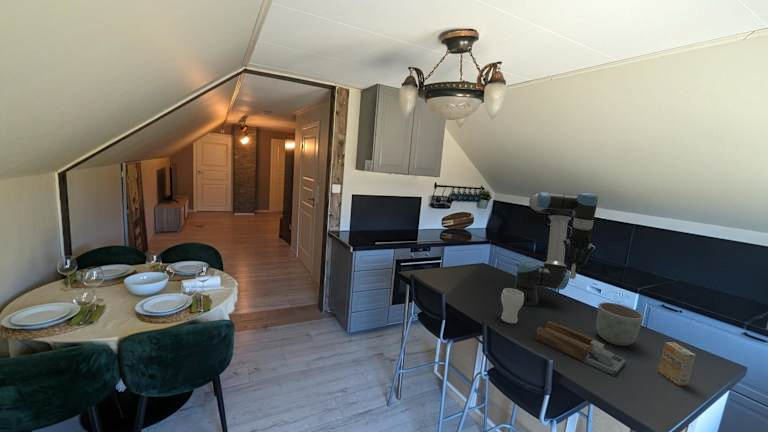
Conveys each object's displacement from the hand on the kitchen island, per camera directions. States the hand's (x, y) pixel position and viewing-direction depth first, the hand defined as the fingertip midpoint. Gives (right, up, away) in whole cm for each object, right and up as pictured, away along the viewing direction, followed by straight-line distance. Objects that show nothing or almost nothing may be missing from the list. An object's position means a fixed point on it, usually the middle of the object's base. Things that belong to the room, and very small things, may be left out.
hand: (572, 278), depth 149 cm
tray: (+4, -32, -16) cm, 36 cm away
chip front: (+3, -29, -15) cm, 32 cm away
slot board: (-6, -29, -5) cm, 30 cm away
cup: (-23, -24, +16) cm, 37 cm away
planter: (+21, -30, +3) cm, 37 cm away
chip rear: (+1, -28, -14) cm, 31 cm away
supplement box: (+25, -35, -23) cm, 49 cm away
